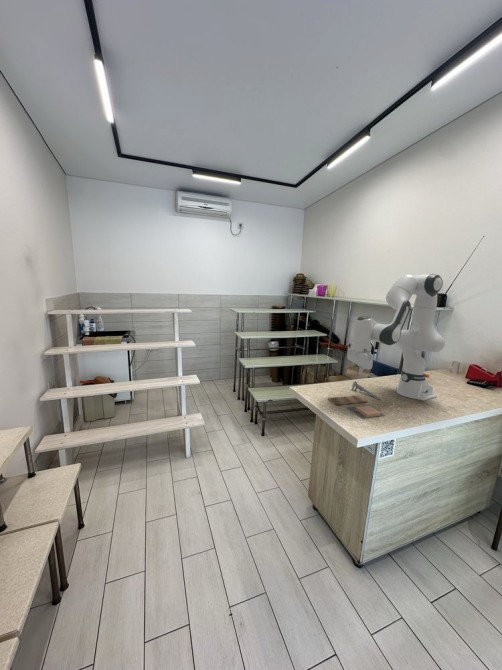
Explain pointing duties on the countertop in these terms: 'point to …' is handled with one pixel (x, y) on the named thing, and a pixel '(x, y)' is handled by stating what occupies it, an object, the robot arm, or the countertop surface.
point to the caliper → (364, 390)
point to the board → (347, 400)
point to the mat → (360, 413)
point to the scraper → (353, 370)
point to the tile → (368, 411)
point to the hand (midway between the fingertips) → (357, 372)
